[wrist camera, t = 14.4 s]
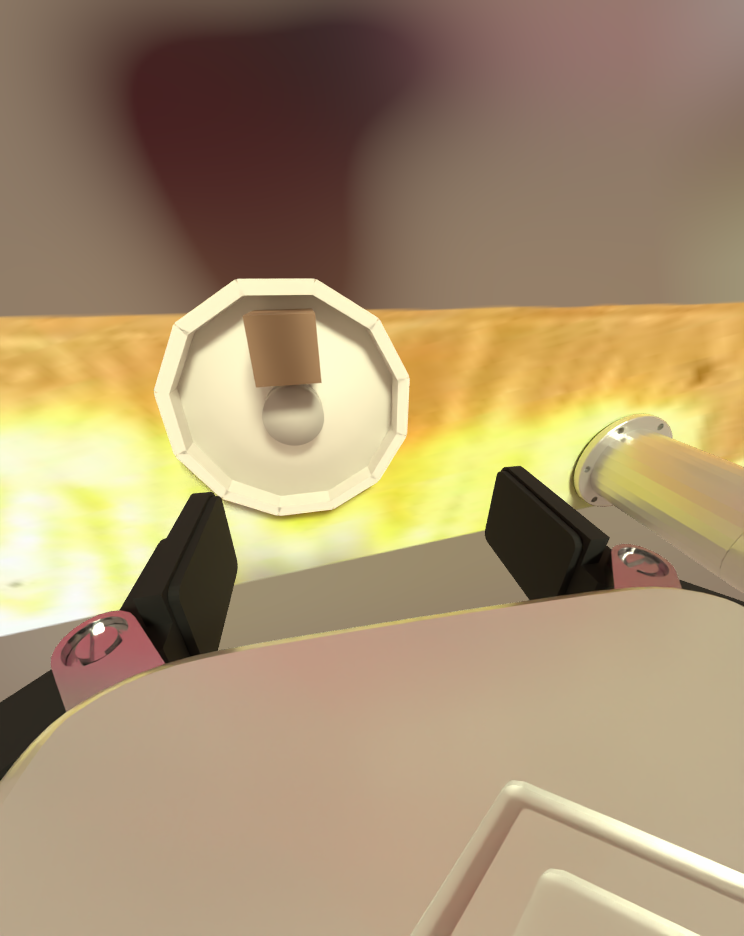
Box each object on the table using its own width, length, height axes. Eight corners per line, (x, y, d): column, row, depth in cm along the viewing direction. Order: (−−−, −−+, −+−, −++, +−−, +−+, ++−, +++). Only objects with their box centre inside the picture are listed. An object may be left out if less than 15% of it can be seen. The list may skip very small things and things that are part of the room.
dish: (403, 279, 27) (416, 278, 24) (396, 485, 37) (405, 503, 34) (135, 280, 24) (112, 279, 21) (205, 507, 33) (196, 529, 30)
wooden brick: (311, 308, 26) (315, 313, 21) (317, 365, 28) (321, 383, 23) (253, 310, 25) (242, 315, 20) (263, 368, 27) (256, 387, 22)
